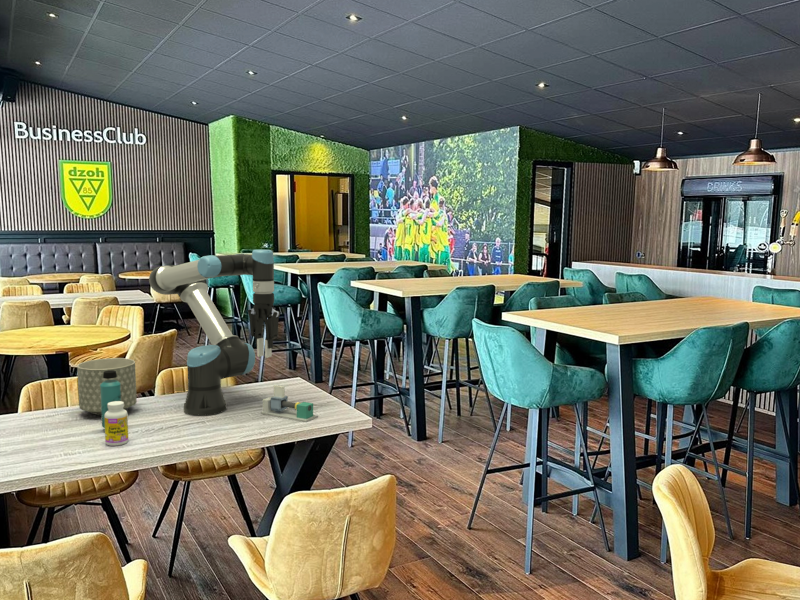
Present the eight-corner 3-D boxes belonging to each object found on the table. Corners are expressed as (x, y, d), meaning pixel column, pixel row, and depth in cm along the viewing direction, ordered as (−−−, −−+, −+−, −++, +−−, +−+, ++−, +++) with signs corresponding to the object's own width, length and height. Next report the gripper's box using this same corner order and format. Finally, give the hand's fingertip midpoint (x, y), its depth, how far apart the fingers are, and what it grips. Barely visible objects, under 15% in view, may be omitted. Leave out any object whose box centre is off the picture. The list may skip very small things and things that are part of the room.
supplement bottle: (105, 447, 200) (103, 406, 199) (105, 440, 206) (103, 401, 205) (128, 444, 203) (127, 404, 201) (128, 438, 209) (126, 399, 207)
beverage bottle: (102, 434, 213) (99, 374, 210) (101, 428, 219) (98, 369, 216) (123, 431, 216) (121, 372, 213) (122, 425, 222) (119, 368, 219)
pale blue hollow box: (270, 409, 236) (270, 386, 235) (278, 406, 240) (278, 384, 239) (279, 411, 234) (279, 388, 233) (287, 408, 238) (287, 385, 237)
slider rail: (261, 413, 237) (260, 399, 236) (273, 409, 243) (273, 395, 242) (306, 422, 227) (305, 407, 227) (317, 417, 233) (317, 402, 233)
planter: (138, 403, 249) (136, 356, 247) (135, 417, 231) (133, 367, 229) (83, 407, 243) (81, 359, 241) (75, 422, 225) (73, 370, 223)
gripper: (239, 292, 235) (240, 356, 238) (274, 294, 228) (275, 360, 231) (253, 290, 242) (254, 352, 245) (287, 292, 235) (288, 356, 237)
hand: (264, 356), depth 238 cm, fingers open, 3 cm apart
